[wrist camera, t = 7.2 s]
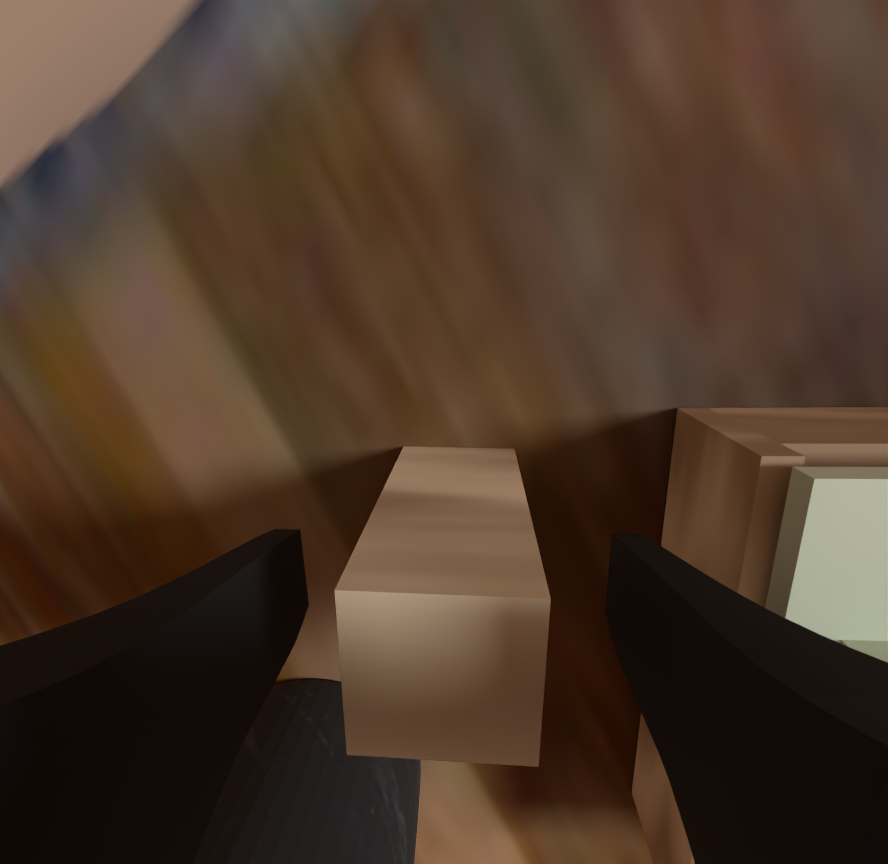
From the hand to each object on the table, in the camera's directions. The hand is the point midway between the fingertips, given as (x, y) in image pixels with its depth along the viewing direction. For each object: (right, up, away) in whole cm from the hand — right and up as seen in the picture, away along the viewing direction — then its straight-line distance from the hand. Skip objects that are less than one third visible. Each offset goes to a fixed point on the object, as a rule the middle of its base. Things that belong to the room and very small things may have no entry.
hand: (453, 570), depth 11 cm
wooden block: (0, +1, +3) cm, 3 cm away
